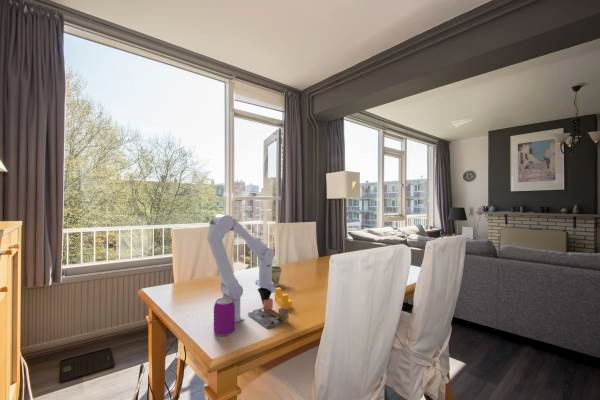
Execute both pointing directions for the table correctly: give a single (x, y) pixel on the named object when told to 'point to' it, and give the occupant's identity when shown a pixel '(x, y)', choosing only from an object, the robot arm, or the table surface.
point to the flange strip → (264, 319)
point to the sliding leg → (266, 305)
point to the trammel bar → (279, 314)
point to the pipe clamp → (282, 299)
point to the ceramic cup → (276, 275)
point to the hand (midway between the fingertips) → (265, 304)
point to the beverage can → (224, 316)
